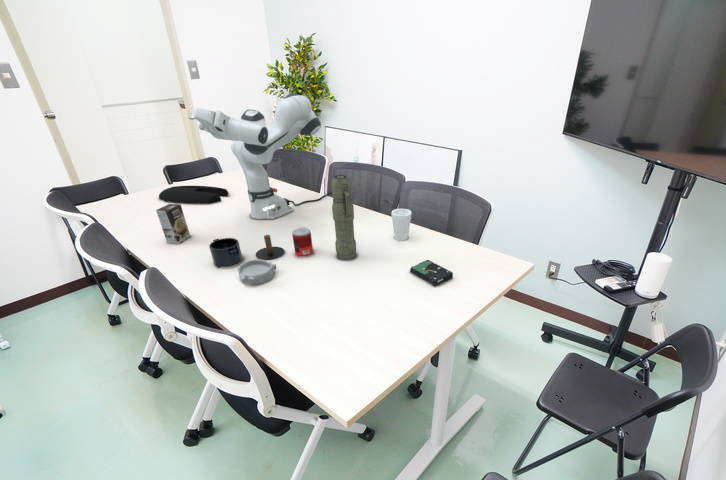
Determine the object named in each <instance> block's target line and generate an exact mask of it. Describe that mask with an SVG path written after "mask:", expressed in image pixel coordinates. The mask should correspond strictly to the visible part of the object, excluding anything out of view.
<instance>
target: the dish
mask: <svg viewBox="0 0 726 480" xmlns="http://www.w3.org/2000/svg"><path fill="white" fill-rule="evenodd" d="M276 269H277V264H276V263H272V262H270V261H268V260H261V259H258V258H257V259H250V260H247V261H244V262H242V263H241V264H240V265H239V266H238V267H237V272H238V276H239V279H240V280H241V282H242V283H244V284H245V285H249V286H258V285H262V284H265V283H268V282H269V281H271V280H272V279H273V277H274V275H275V270H276Z"/></svg>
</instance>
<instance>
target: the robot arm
mask: <svg viewBox="0 0 726 480" xmlns="http://www.w3.org/2000/svg"><path fill="white" fill-rule="evenodd" d="M312 106H313V105H312V103H311V101H310V99H309V98H308V96H306V95H301V94H300V95H299V94H298V93H297V92H290V93H288V94H287V95H285V97H284V98H282V99H280V100H279V101H278V102H277V104H276V105H275V108H274V109H275V110H274V118H273V123H272V124H271V125H269V126H267V125H266V118H265V115H264V114H263V113H262V112H260V111H258V110H256V109H246V110H245V111H244V112H243V113H242V114H241V116H240V119H237V118H234V117H230V116H229V115H227V114H225V113H224V112H223V111H221V110H216V111H215V110H211V109H205V108H195V110H194V112H193V113H189V112H188V113H187V118H188V119H189V120H192V121H194V120H196V121H198V122H199V123H200V124H199V123H198V129H199V130H201V131H204V132H206V133H208V134H210V135H211V136H212V137H213V138H215V139H217V140H224V141H231V144H230V149H231V152H232V154H233V155H234V156H235V158H236V159H237V161H238V163H239V165H240V167H241V169H242V172H243V174H244V177H245V181H246V185H247V195H248V199H249V202H250V217H251V218H252V219H254V220H275V219H277V218H280V217H282V216H284V215H287V214H289V213H291V212H293V208H292V207H291V206H290V205H291V203H292V205H293V206H295V207H297V206H301V205H303V204H306V203H313V202H317V201H321V200H323V198H326V197H328V196H330V195H332V192H328V193H326V194H323V195H322V196H321V197H319V198H317V199H309V200H304V201H301V202H300V203H295V201H293V200H289V199H288V198H286V197H282V196H279V195H278V194H277V193H278V189H277V188H276V187H274V188H273V187H271V185H270V181H269V180H270V179H269V174H268V172H267V170H266V169H265V168H264V165H267V164H269V163H271V162H272V160H273V157H274V154H275V152H277V151H278V150H279V149H281V148H283V147H284V146H286V145H288V144H289V143H290V142H292V141H293V140H294V139H296V137H298V136H299V134H300V135H301V136H306V137H307V136H308V137H309V136H310V137H311V136H313V135H316V134H317V133H318V132H319V130H320V129H321V126H322V123H321V120H320V118H319V117H317V115H316V113H315V112H314V111H313V107H312ZM266 126H267V127H266Z"/></svg>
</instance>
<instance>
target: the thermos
mask: <svg viewBox="0 0 726 480" xmlns="http://www.w3.org/2000/svg"><path fill="white" fill-rule="evenodd" d="M351 185H352V184H351V181H350V178H349V177H348V176H347V175H345V174H337V175H334V176H333V177H332V180H331V193H332V194H331V195H332V205H331V211H332V212H331V214H332V219H333V222H334V230H335V241H334V243H335V252H336V258H337V259H338V260H340V261H351V260H354V259H356V258H357V241H356V238H355V228H354V227H355V225H354V219H355V210H354V204H353V202H352V201H353V200H352V188H351V187H352V186H351Z"/></svg>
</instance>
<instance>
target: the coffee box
mask: <svg viewBox="0 0 726 480" xmlns="http://www.w3.org/2000/svg"><path fill="white" fill-rule="evenodd" d="M155 212H156V214H157V218H158V220H159V223H160V226H161V230H162V233H163V235H164V238H165V241H166V243H167V244H174V245H179V244H181V243H182V242H184V241H185V240H188V239H189V238H190V237H191V233H190V230H189V226H188V224H187V221H186V217H185V214H184V211H183V207H182V205H181V203H168V204H166V205H163V206H162V207H160V208H157V209H155Z"/></svg>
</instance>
